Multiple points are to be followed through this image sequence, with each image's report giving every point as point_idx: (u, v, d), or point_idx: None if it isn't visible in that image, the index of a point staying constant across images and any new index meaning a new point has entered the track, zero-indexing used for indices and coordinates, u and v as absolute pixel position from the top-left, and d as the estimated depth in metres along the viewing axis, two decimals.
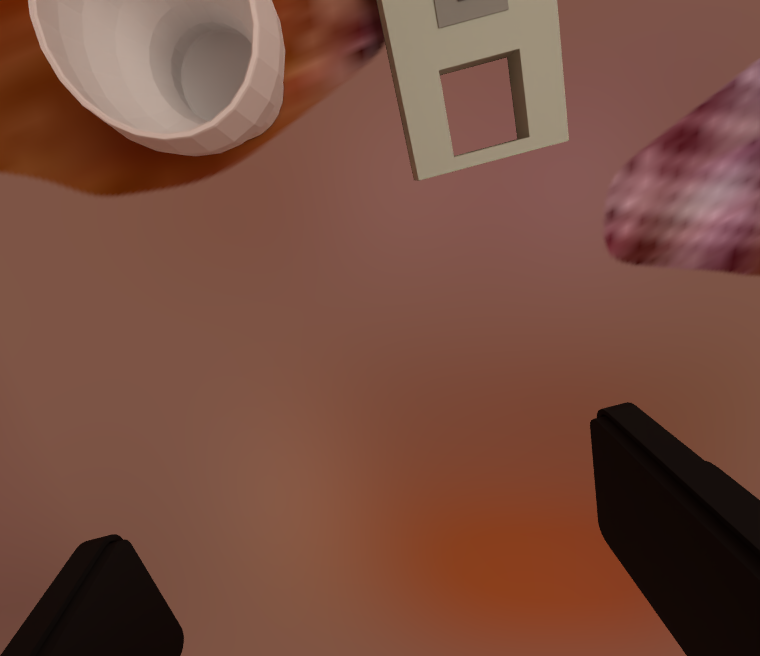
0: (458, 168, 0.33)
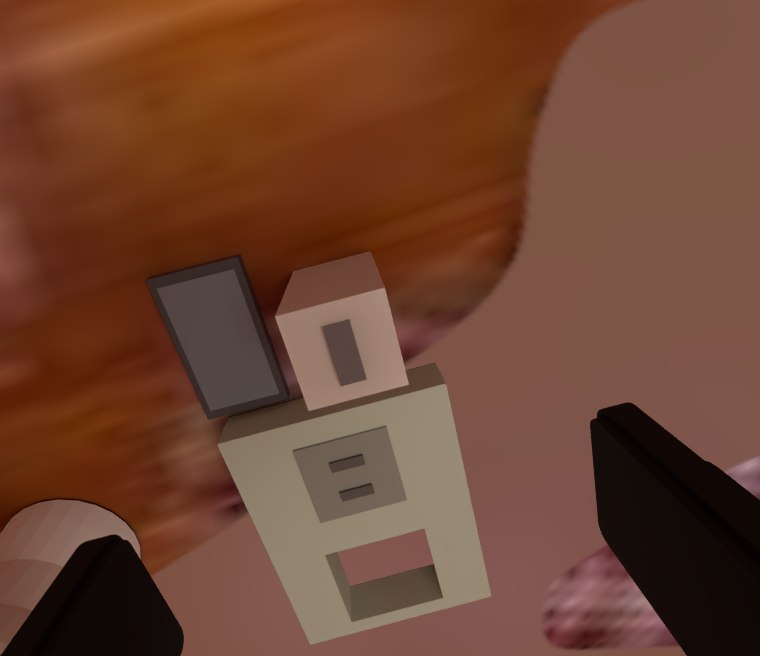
0: (358, 630, 0.28)
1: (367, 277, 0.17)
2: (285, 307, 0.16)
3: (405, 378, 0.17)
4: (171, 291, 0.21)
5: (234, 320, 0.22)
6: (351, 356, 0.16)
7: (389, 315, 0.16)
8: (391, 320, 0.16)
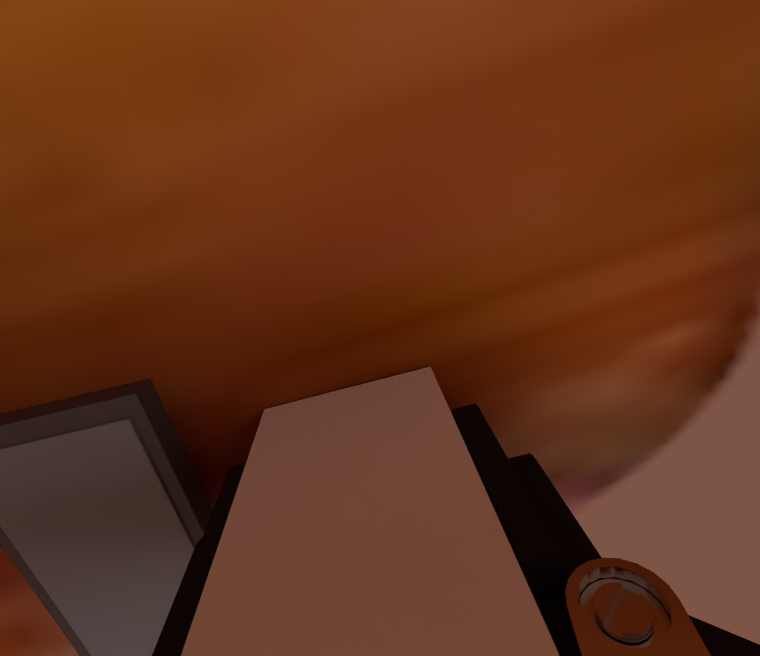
0: None
1: (468, 546, 0.05)
2: None
3: None
4: None
5: (138, 514, 0.10)
6: None
7: None
8: None
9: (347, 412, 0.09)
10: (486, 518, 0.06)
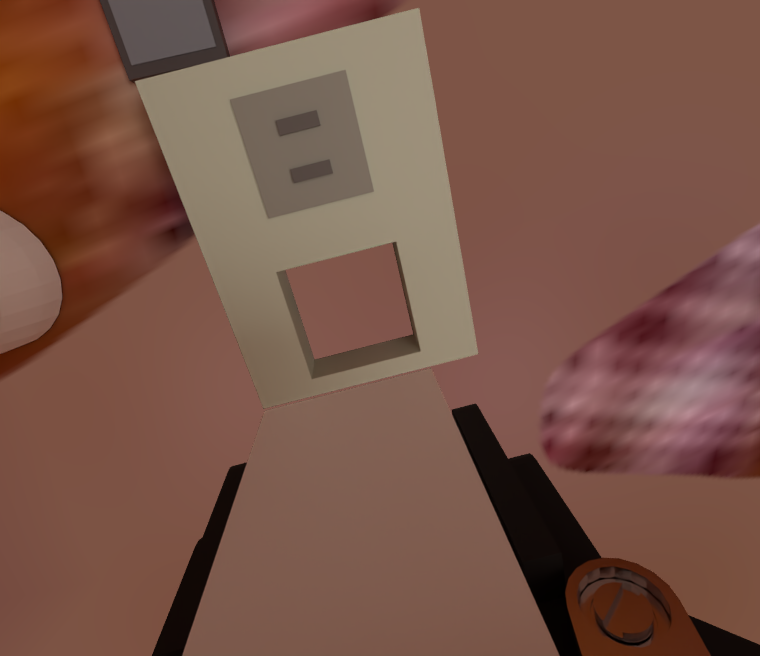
0: (320, 392, 0.23)
1: (469, 551, 0.05)
2: None
3: None
4: None
5: None
6: None
7: None
8: None
9: (347, 414, 0.09)
10: (488, 522, 0.06)
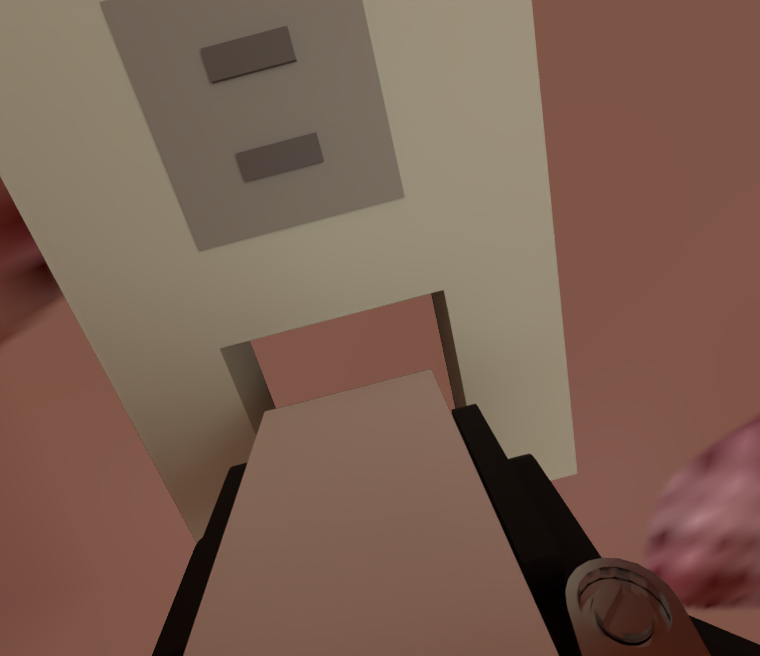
0: None
1: (470, 552, 0.05)
2: None
3: None
4: None
5: None
6: None
7: None
8: None
9: (348, 415, 0.09)
10: (488, 523, 0.06)
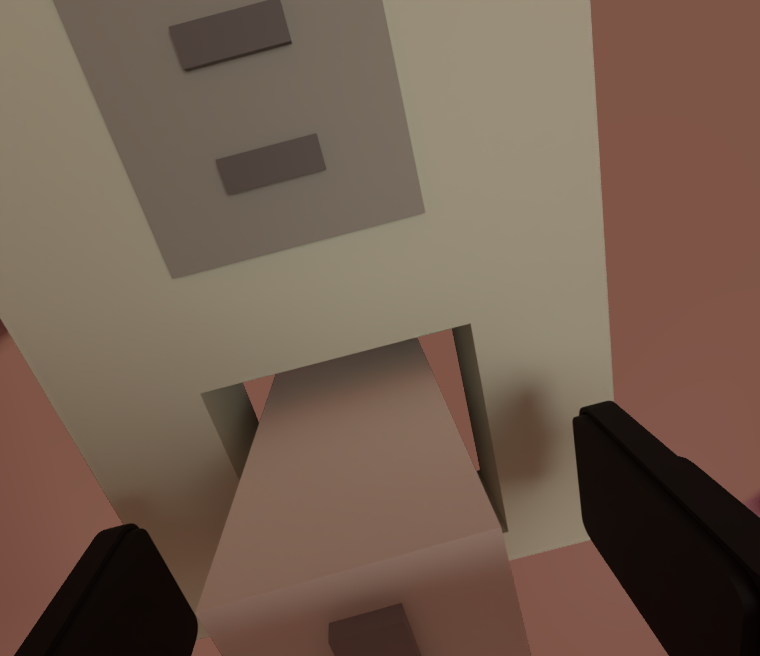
0: None
1: (432, 443, 0.07)
2: (233, 552, 0.06)
3: None
4: None
5: None
6: None
7: (508, 586, 0.06)
8: (513, 597, 0.06)
9: (345, 368, 0.11)
10: (447, 426, 0.08)
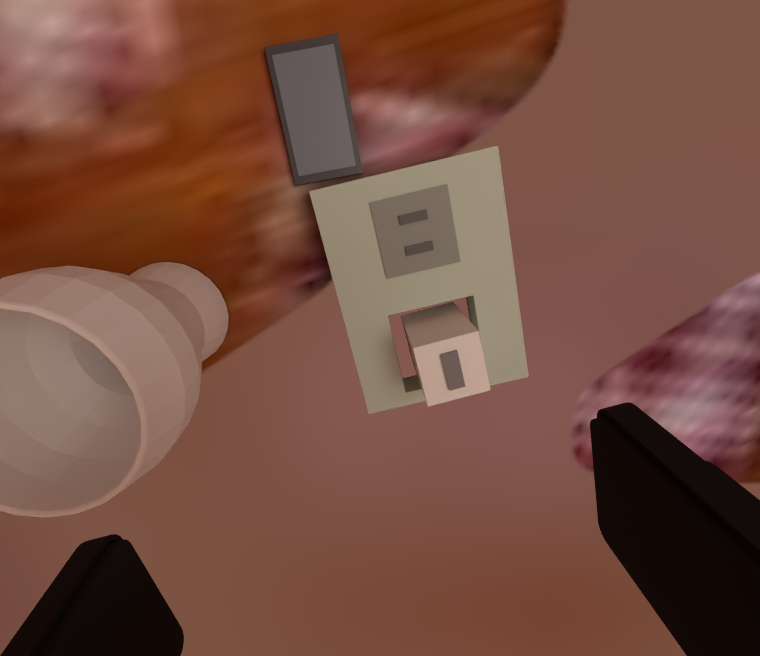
0: (410, 402, 0.32)
1: (462, 323, 0.27)
2: (415, 342, 0.26)
3: (488, 386, 0.27)
4: (282, 59, 0.26)
5: (328, 92, 0.27)
6: (457, 372, 0.26)
7: (480, 347, 0.26)
8: (481, 350, 0.26)
9: (429, 312, 0.31)
10: (466, 320, 0.28)
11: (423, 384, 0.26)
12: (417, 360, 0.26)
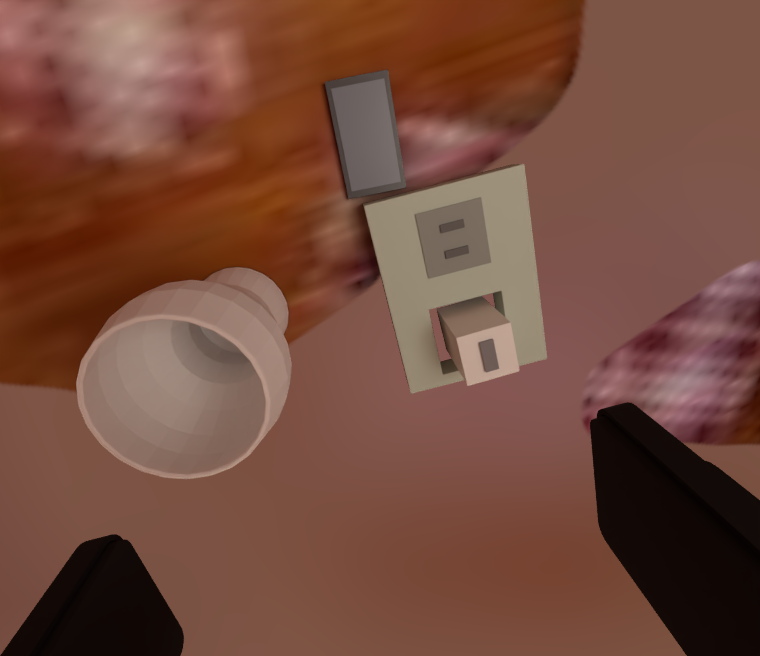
0: (447, 383, 0.37)
1: (494, 315, 0.32)
2: (457, 332, 0.31)
3: (518, 367, 0.32)
4: (340, 92, 0.30)
5: (378, 119, 0.31)
6: (492, 357, 0.31)
7: (512, 335, 0.31)
8: (512, 338, 0.31)
9: (462, 306, 0.36)
10: (497, 312, 0.33)
11: (464, 367, 0.32)
12: (459, 348, 0.31)
